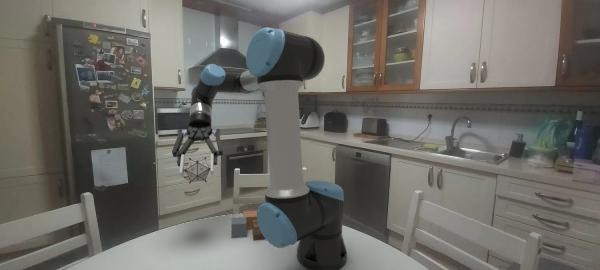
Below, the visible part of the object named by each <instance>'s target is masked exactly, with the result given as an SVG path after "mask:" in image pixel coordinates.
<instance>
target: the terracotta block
mask: <svg viewBox="0 0 600 270" xmlns="http://www.w3.org/2000/svg"><path fill="white" fill-rule="evenodd" d="M242 217H246V231H248V230H249V231H251V230H252V220H257V210H245V211H243V213H242Z"/></svg>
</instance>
